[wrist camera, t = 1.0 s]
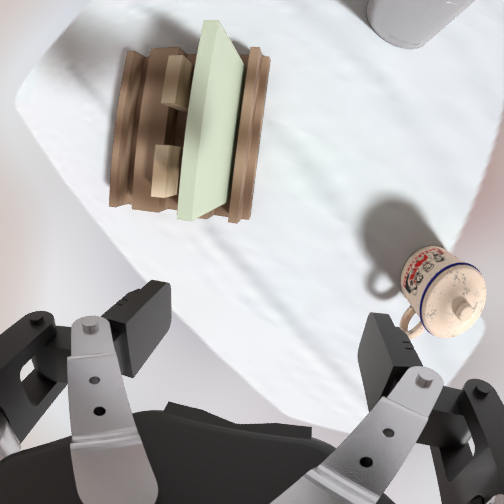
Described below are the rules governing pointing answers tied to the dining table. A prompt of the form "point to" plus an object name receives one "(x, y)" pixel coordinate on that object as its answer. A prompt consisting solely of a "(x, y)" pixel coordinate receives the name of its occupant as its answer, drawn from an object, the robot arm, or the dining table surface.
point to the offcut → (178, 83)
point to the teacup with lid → (441, 293)
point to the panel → (211, 124)
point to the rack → (178, 133)
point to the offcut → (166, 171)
